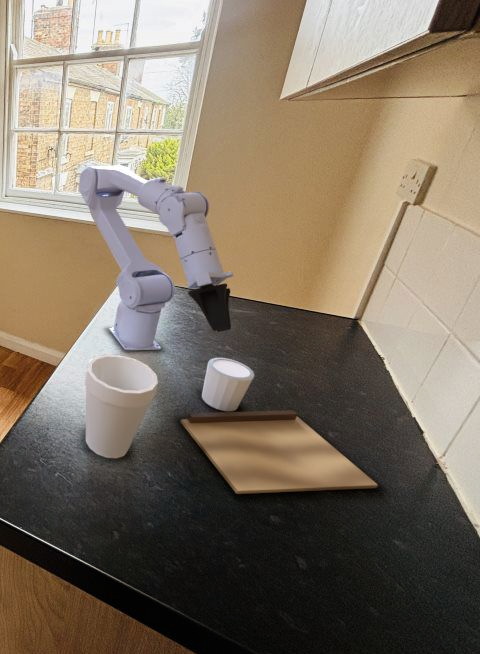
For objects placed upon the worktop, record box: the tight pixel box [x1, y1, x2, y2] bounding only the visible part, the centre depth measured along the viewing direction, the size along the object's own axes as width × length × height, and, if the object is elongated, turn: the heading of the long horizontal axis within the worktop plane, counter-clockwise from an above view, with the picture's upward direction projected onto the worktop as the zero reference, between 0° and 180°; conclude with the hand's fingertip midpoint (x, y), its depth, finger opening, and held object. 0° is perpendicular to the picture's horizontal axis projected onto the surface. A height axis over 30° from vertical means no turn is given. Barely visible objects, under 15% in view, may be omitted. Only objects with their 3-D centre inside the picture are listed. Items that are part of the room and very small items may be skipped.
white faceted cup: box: [201, 357, 255, 412], centre depth 70 cm, size 7×7×7 cm
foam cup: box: [84, 353, 159, 459], centre depth 59 cm, size 10×9×13 cm
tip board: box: [180, 409, 379, 495], centre depth 60 cm, size 14×20×2 cm
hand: (222, 330), depth 68 cm, fingers open, 7 cm apart
